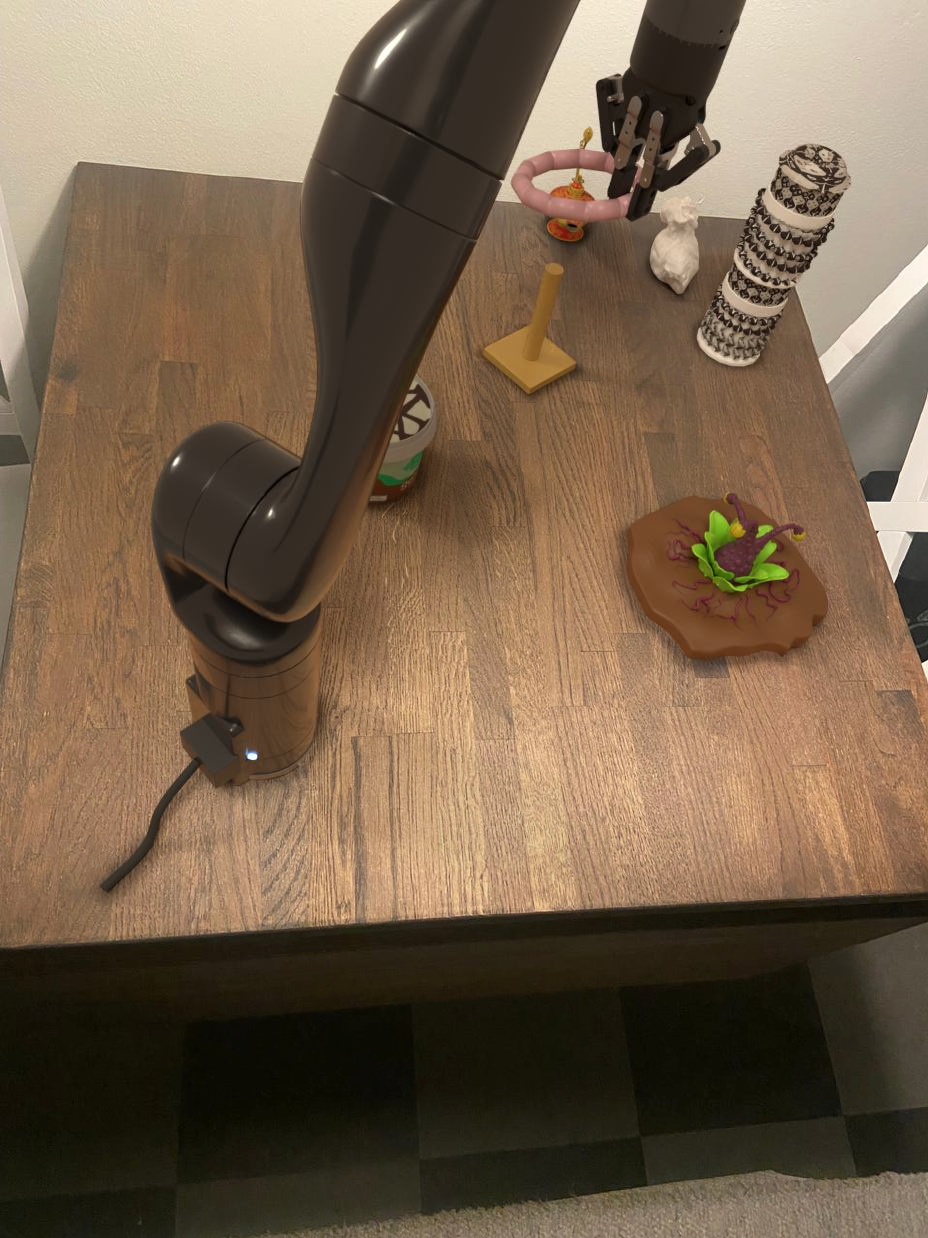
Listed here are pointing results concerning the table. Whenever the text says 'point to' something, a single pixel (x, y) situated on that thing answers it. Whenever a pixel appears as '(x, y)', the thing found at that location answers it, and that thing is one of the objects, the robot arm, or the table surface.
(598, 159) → the ring
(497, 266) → the table surface
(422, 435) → the food container
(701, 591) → the plant
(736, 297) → the decorative candle
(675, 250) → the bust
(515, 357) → the stand
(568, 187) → the orange ornate vessel
